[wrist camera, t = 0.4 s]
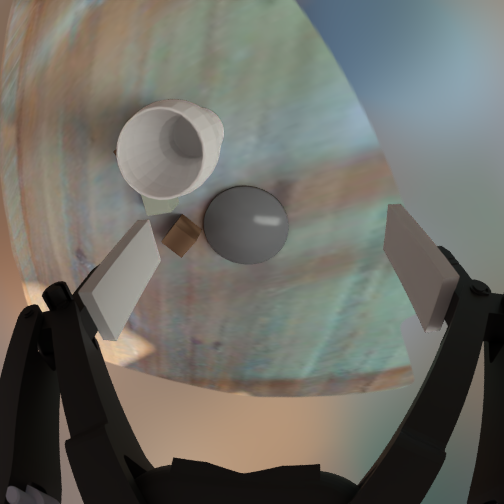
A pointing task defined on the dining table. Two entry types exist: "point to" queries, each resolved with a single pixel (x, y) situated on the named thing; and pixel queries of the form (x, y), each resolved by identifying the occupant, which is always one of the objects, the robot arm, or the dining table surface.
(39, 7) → the dining table surface
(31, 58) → the dining table surface
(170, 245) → the block
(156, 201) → the block
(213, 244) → the coaster
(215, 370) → the dining table surface
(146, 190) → the cup
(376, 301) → the dining table surface
